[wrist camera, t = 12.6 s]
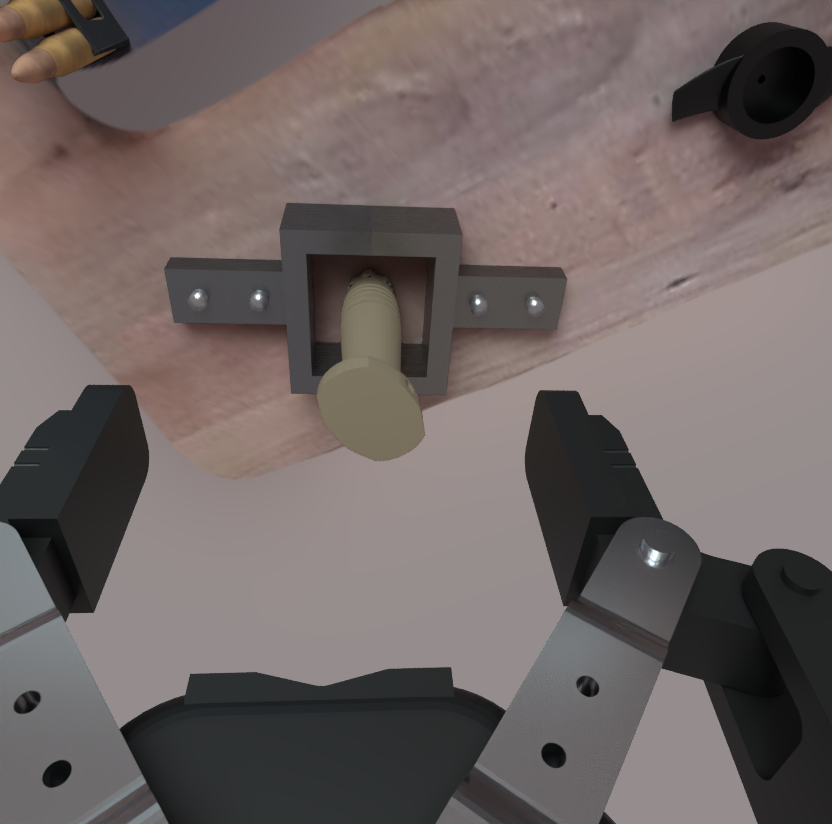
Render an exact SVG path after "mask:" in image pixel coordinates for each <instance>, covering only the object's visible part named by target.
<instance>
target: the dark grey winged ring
mask: <svg viewBox="0 0 832 824" xmlns="http://www.w3.org/2000/svg"><path fill="white" fill-rule="evenodd" d="M760 76H761V77H760ZM759 77H760V79H759V80H758V78H759ZM831 95H832V46H831V47H827V46H826V44H825V43H824V41H823V40H822V39H821V38H820V37H819V36H818V35H817V34H815V33H813V32H811V31H808V30H805V29H801V28H797V27H794V26H790V25H786V24H782V23H777V22H768V23H762V24H759V25H756V26H753V27H751V28H749V29H747V30H745V31H744V32H742V33H741V34H739V35H738V36H737V37H736V38H735V39H733V40H732V41H731V42H730V43H729V44H728V46H727V47H726V48H725V49H724V50H723V52H722V53H721V55H720V56H719V58H718V60H717V61H716V63H715V66H714V67H712V68H711V69H709V70H707V71H705V72H703V73H702V74H700V75H698V76H697V77H695V78H694V79H692V80H691V81H689V82H687V83H686V84H684V85H683V86H681V87H680V88H678V89H677V90H675V91H674V94H673V101H672V122H673V121H676V120H679V119H682V118H685V117H688V116H692V115H695V114H699V113H704V112H708V111H713V112H714V114H715V115H716V116H717V118H718V119H719V120H721V121H722V122H723V123H725V124H727V125H728V126H730V127H732V128H733V129H735V130H737V131H738V132H740V133H742V134H744V135H745V136H748V137H750V138H755V139H769V138H774V137H777V136H780V135H783V134H785V133H787V132H789V131H791V130H792V129H794V128H795V127H797V126H798V125H799V124H801V123H802V122H803V121H804V120H805V119H806V118H807V117H808V116H809V115H810V114H811V113H812V112H813V110H814V109H815V108H816V107H817V106H819V105H820V104H821V103H823V102H824V101H825V100H826V99H828V98H829V97H830V96H831Z"/></svg>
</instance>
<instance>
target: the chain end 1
mask: <svg viewBox="0 0 832 824" xmlns="http://www.w3.org/2000/svg"><path fill="white" fill-rule="evenodd" d="M279 230H280V244H281V257H282V260H248V259H209V258H170V260H169V261H168V263H167V265H166V267H165V268H164V271H165V276H166V281H167V287H168V292H169V297H170V303H171V308H172V313H173V318H174V323H223V324H279V325H286V327H287V341H288V355H289V369H290V383H291V393H292V394H317V390H318V385H319V383H320V381H321V379H322V377H323V376H324V374H325V373H326V372H327V371H328V370H329V369H330V368H332V367H333V366H334V365H336V364H337V363H339V362H341V361H342V350H341V343H320V342H316V336H315V312H314V289H313V265H312V254H331V255H369V256H372V210H371V206H362V205H332V204H301V203H287V204H286V207H285V211H284V215H283V218H282V222H281V226H280V229H279Z"/></svg>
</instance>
